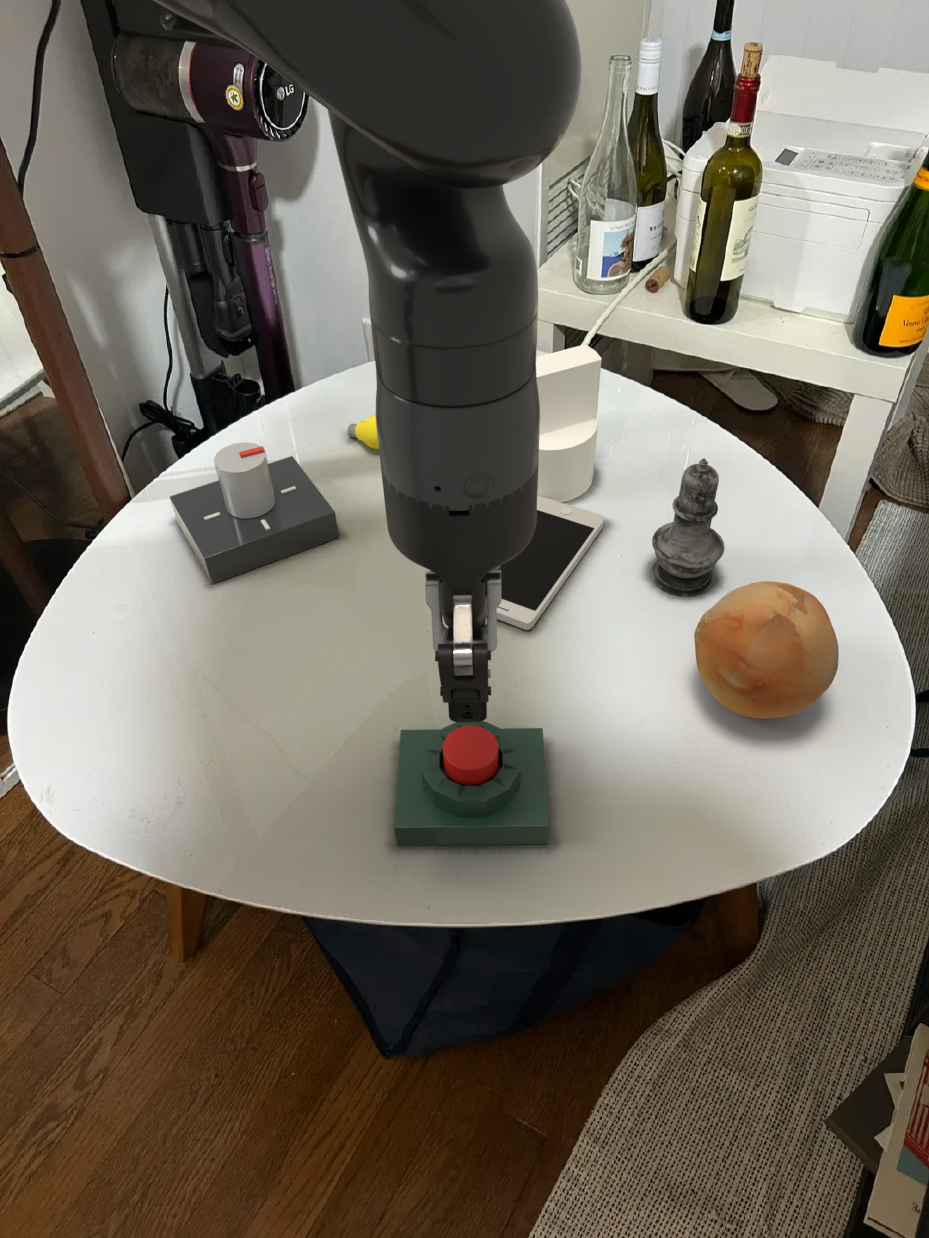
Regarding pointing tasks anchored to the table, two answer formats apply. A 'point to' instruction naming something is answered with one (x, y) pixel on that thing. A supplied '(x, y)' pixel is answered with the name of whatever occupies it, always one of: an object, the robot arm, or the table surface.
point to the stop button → (470, 755)
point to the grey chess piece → (689, 536)
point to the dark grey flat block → (255, 523)
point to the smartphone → (545, 561)
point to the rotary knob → (245, 480)
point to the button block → (471, 792)
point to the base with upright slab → (567, 421)
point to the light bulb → (365, 431)
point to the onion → (766, 650)
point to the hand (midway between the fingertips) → (468, 687)
